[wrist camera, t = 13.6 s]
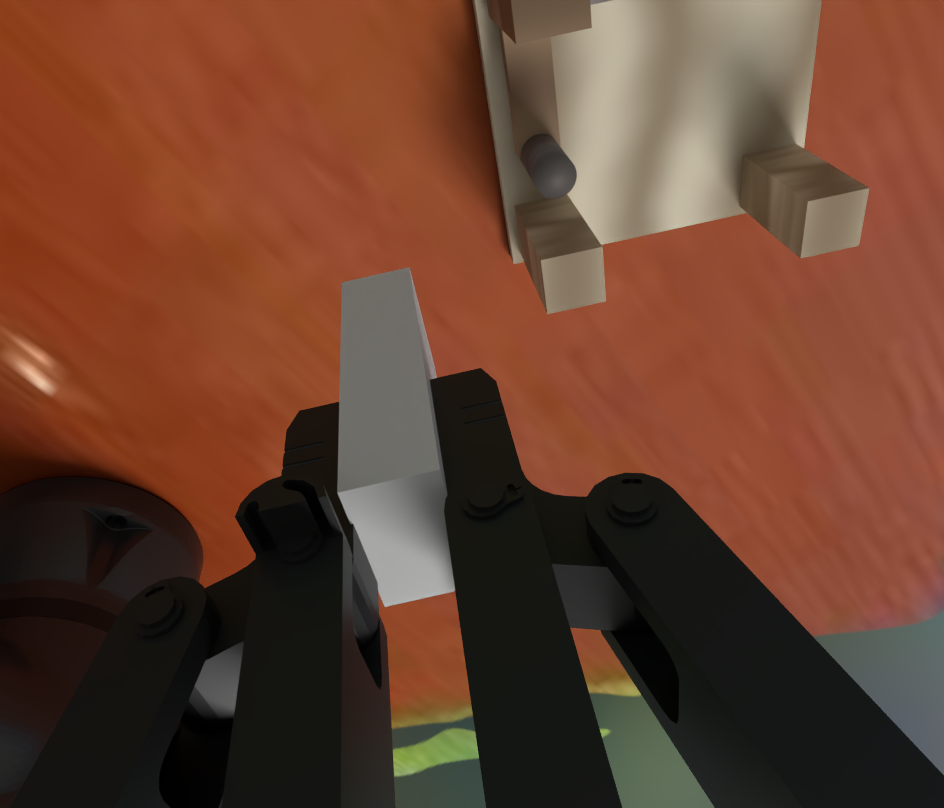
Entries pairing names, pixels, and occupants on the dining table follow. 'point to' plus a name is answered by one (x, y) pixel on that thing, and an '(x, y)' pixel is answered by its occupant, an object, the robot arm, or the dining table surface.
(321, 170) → the dining table surface
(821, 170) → the stool seat
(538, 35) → the hinged leg
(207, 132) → the dining table surface
